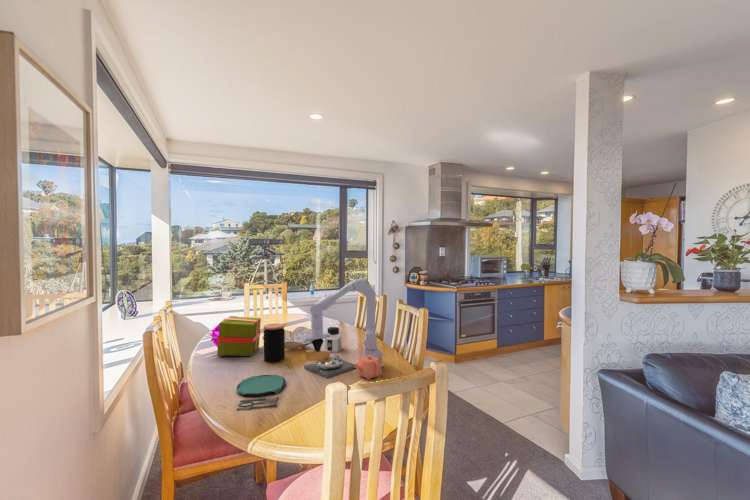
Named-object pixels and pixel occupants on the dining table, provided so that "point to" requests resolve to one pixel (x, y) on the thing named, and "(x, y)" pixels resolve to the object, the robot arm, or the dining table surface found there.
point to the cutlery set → (260, 389)
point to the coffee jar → (274, 342)
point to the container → (333, 340)
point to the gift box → (237, 336)
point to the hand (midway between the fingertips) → (317, 354)
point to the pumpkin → (369, 367)
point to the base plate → (329, 372)
